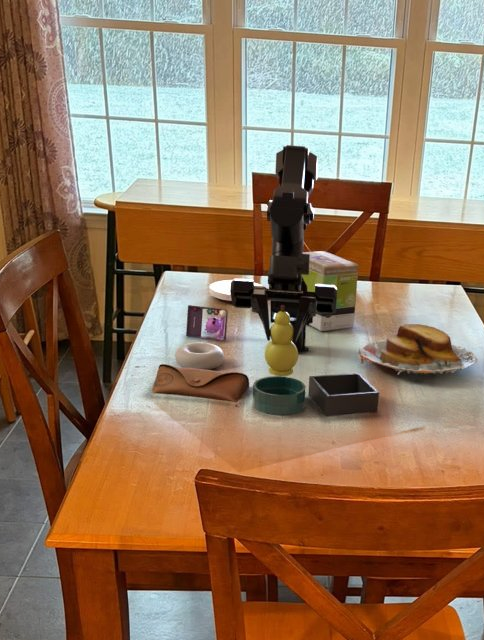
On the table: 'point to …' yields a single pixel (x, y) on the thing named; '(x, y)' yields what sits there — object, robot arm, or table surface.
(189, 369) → the sunglasses case
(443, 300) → the table surface
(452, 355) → the food on plate
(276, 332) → the pear
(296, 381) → the bowl
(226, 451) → the table surface
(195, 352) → the donut
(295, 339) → the robot arm
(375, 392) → the bin
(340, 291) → the tea box
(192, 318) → the purple toy box
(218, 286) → the plastic lid
